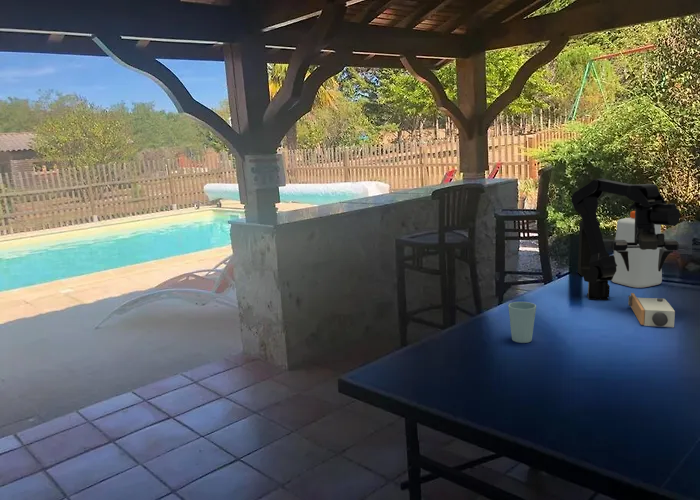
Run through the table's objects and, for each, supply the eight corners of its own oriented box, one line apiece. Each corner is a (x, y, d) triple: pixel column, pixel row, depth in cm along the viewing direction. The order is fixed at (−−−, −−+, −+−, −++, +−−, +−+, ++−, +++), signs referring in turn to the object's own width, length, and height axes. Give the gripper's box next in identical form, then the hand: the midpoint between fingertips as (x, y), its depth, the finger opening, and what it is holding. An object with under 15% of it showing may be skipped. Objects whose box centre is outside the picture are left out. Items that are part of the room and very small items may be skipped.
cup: (514, 345, 162) (515, 309, 160) (503, 336, 169) (504, 302, 167) (540, 343, 163) (540, 307, 161) (528, 334, 170) (528, 300, 168)
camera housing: (644, 327, 172) (645, 309, 171) (636, 312, 186) (637, 295, 185) (674, 328, 170) (676, 310, 168) (664, 313, 184) (665, 296, 183)
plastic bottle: (605, 281, 226) (608, 211, 221) (632, 276, 232) (635, 208, 227) (639, 289, 213) (642, 215, 207) (666, 284, 219) (671, 211, 214)
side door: (637, 324, 173) (638, 309, 172) (627, 306, 192) (628, 292, 191) (643, 324, 173) (644, 310, 172) (633, 306, 191) (633, 293, 191)
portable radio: (596, 272, 241) (598, 214, 237) (600, 276, 235) (603, 216, 231) (576, 273, 242) (578, 214, 237) (581, 276, 236) (583, 216, 231)
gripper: (617, 227, 179) (616, 276, 181) (684, 226, 173) (682, 276, 176) (611, 223, 189) (610, 269, 192) (674, 221, 184) (673, 269, 186)
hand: (643, 271), depth 186 cm, fingers open, 9 cm apart
